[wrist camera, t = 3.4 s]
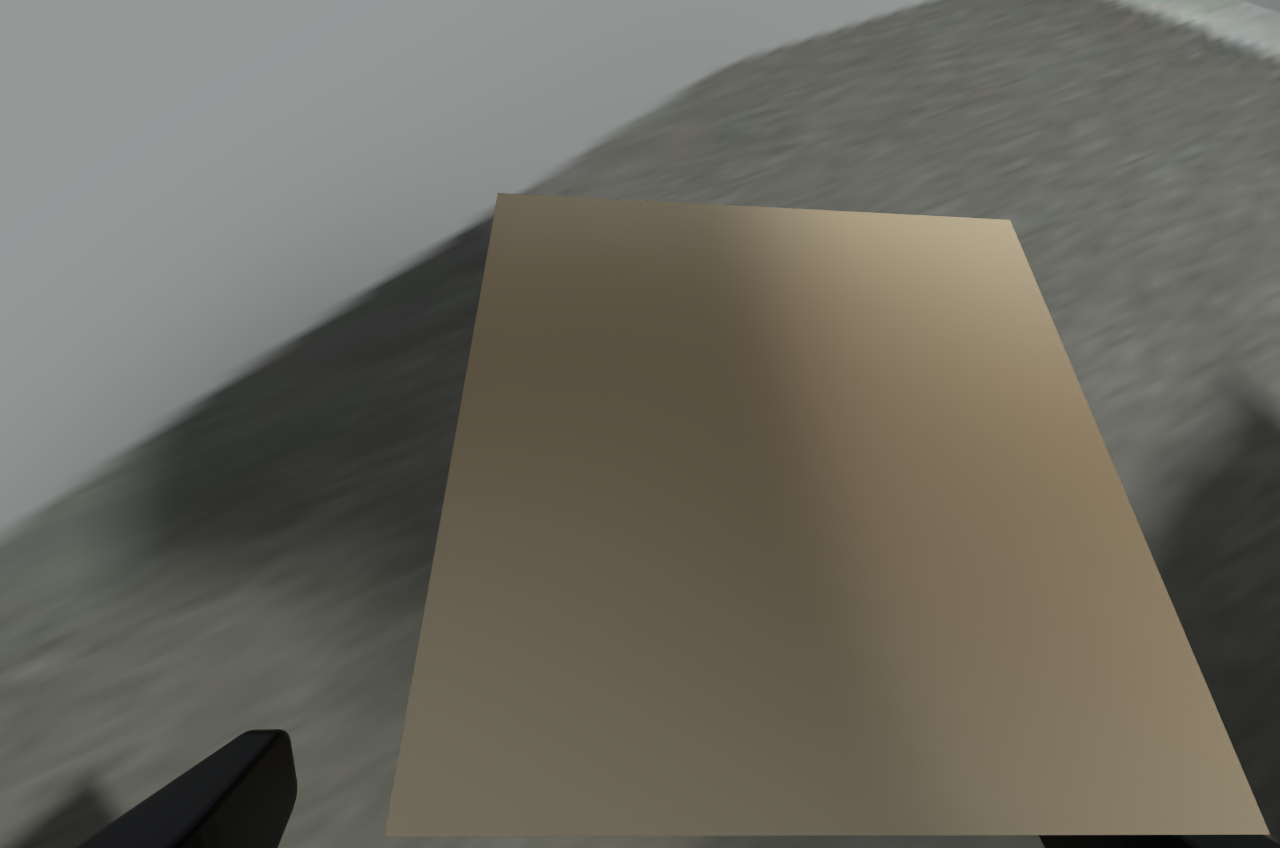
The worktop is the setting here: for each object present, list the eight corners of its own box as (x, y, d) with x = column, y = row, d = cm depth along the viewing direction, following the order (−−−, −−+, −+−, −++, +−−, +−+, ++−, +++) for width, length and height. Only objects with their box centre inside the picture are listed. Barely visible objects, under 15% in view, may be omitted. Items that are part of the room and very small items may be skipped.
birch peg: (720, 764, 15) (1269, 834, 3) (562, 764, 15) (384, 836, 3) (712, 603, 17) (1009, 220, 5) (572, 600, 17) (498, 193, 4)
